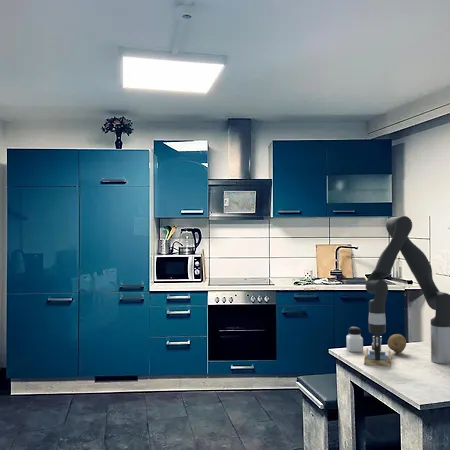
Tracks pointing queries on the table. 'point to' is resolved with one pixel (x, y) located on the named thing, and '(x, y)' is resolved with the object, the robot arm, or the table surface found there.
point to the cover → (382, 355)
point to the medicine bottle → (354, 340)
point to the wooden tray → (377, 360)
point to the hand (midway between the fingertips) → (377, 360)
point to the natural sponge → (397, 343)
